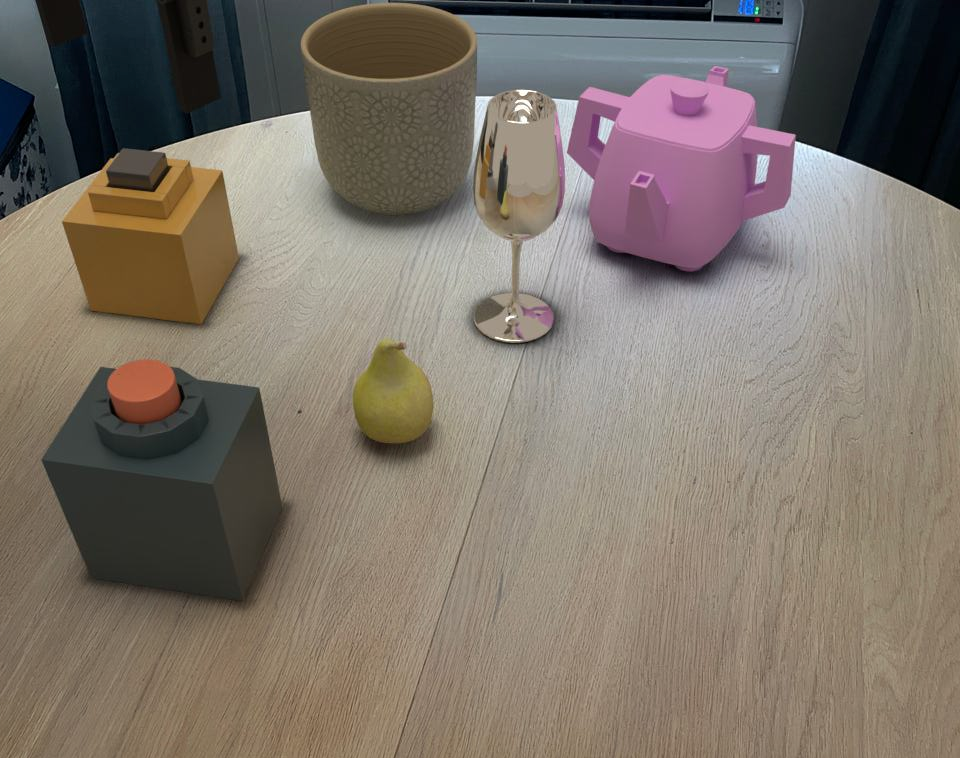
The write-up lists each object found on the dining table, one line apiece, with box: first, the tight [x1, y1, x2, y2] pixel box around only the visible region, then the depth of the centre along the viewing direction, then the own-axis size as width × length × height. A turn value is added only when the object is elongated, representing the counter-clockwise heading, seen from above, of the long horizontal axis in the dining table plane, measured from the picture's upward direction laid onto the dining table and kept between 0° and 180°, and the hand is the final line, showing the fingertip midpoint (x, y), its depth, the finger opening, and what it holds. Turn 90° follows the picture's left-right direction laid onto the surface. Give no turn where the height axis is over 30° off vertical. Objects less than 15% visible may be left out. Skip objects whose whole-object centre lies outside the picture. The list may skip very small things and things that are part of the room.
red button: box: [107, 359, 181, 425], centre depth 72 cm, size 4×4×2 cm
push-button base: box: [61, 152, 240, 325], centre depth 100 cm, size 11×11×11 cm
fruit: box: [352, 338, 435, 444], centre depth 86 cm, size 7×8×12 cm
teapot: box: [566, 65, 797, 272], centre depth 104 cm, size 19×18×15 cm
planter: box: [300, 2, 478, 216], centre depth 109 cm, size 17×17×15 cm
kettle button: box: [106, 147, 169, 192], centre depth 95 cm, size 4×4×2 cm
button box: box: [40, 366, 283, 602], centre depth 78 cm, size 12×10×14 cm
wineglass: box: [472, 89, 566, 344], centre depth 93 cm, size 8×8×20 cm
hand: (131, 70), depth 69 cm, fingers open, 13 cm apart
